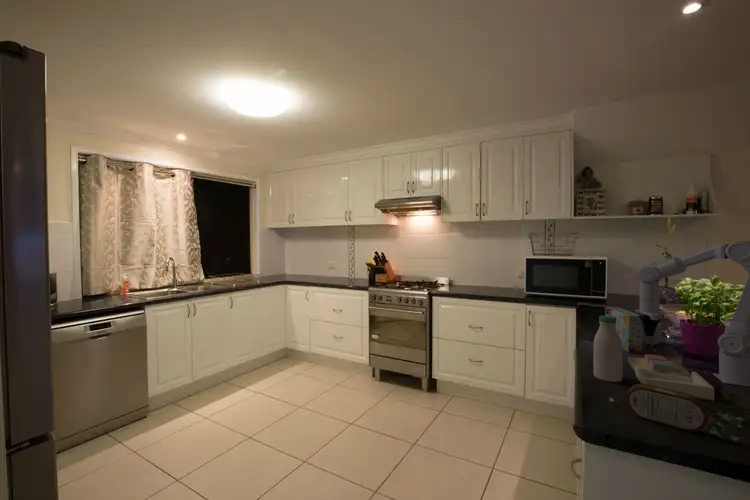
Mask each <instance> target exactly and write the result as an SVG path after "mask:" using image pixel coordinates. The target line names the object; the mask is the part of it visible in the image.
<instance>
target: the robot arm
mask: <svg viewBox="0 0 750 500" xmlns="http://www.w3.org/2000/svg"><path fill="white" fill-rule="evenodd" d="M716 259H720V260H727V259H729V260H731V261H733V262H735V263H736V264H739V265H740V266H741V267H742V268H743V269H744V270H745V271H746V272H747V273H748V277H747V280H746V281H745V285H744V286H743V291H742V292H741V295H740V297H739V300H738V303H737V305H736V308H735V309H734V310H735V311H734V314H733V316H732V319H731V321H730V323H729V325H728V326H727V328H726V330H725V332H723V334H721V335H720V336H719V337H718V339H717V345H718V347H719V349H718V352H719V353H718V373H714V372H713V373H712V374H713V376H714V377H715V378H717V379H719V381H721V383H723V384H726V385H727V384H728V385H736V386H742V387H750V240H736V241H733V242H730V243H724V244H720V245H716V246H713V247H710V248H707V249H704V250H702V251H700V252H696V253H694V254H691V255H688V256H686V257H683V258H679V257H678V256H674V257H671V256H668V257H666V258H665V260H662V261H659V262H657V263H655V262H653V263H650V266H643V267H641V268H639V269H638V271H637V272H636V276H637V278H638V280H639V309H635V313H638V315H639V317H640V319H641V321H642V324H643V327H644V332H645V335H646V336H652V337H653V336H654V333H655V330H656V327H657V325H658V323H661V320H662V319H661V318H660V315H661V311H660V310H661V309H660V305H661V303H660V302H661V301H660V298H661V297H660V296H661V295H660V293H661V289H660V288H661V287H660V280H662V279H667V278H670V277H672V276H673V277H674V276H676V275H680V274H682V273H685V272H686V269H687V268H689V267H692V266H694V265H698V264H699V265H700V264H702V263H705V262H708V261H712V260H716ZM639 313H640V314H641V315H640V314H639ZM642 314H643V315H642Z"/></svg>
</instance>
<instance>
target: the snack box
mask: <svg viewBox="0 0 750 500" xmlns="http://www.w3.org/2000/svg"><path fill="white" fill-rule="evenodd" d="M639 315H640V314H639V313H636V312H632V311H630V310H628V309H624V308H621V307H618V306H606V307H605V316H613V317H616V325H615V326H616V330H617V333H618V335H619V337H620V339H621V342H622V351H623V350H624V351H625V352H626V353H629V354H639V353H640V354H641V355H642V354H643V343H642V337H643V324H642V321H641V319H640V317H639ZM640 354H639V355H640Z"/></svg>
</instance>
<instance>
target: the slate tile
mask: <svg viewBox="0 0 750 500" xmlns="http://www.w3.org/2000/svg"><path fill="white" fill-rule="evenodd" d="M668 361H669V360H667V361H661V360H653V359H649V365H650V366H651V368H652V369H653V370H659V371H666V372H673V366H672V365H671V364H670V363H669V362H668Z"/></svg>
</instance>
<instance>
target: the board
mask: <svg viewBox="0 0 750 500" xmlns="http://www.w3.org/2000/svg"><path fill="white" fill-rule="evenodd" d="M627 358H628V359H627V360H628V361H627V362H628V364H629V365H630V367H631V368H632V369H633V371H634V374H636V365H640V367H641V368H642V369H643V371H649V372H656V373H664V374H672V375H679V376H687V377H692V373H690V372H689V371H688V370H687V369H686V368H685V367H684V366H683V365H682V364H681V363H680V362H678V361H672V360H671V361H670V360H667V361H668V362H669V363H670V364H671V365H672V366H673V372H666V371H659V370H653V369H652V368H651V366H650V365H649V364H648V363H647V362H646V360H645V357H643V358H642V357H638V356H637V357H636V356H629V355H628V356H627Z"/></svg>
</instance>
